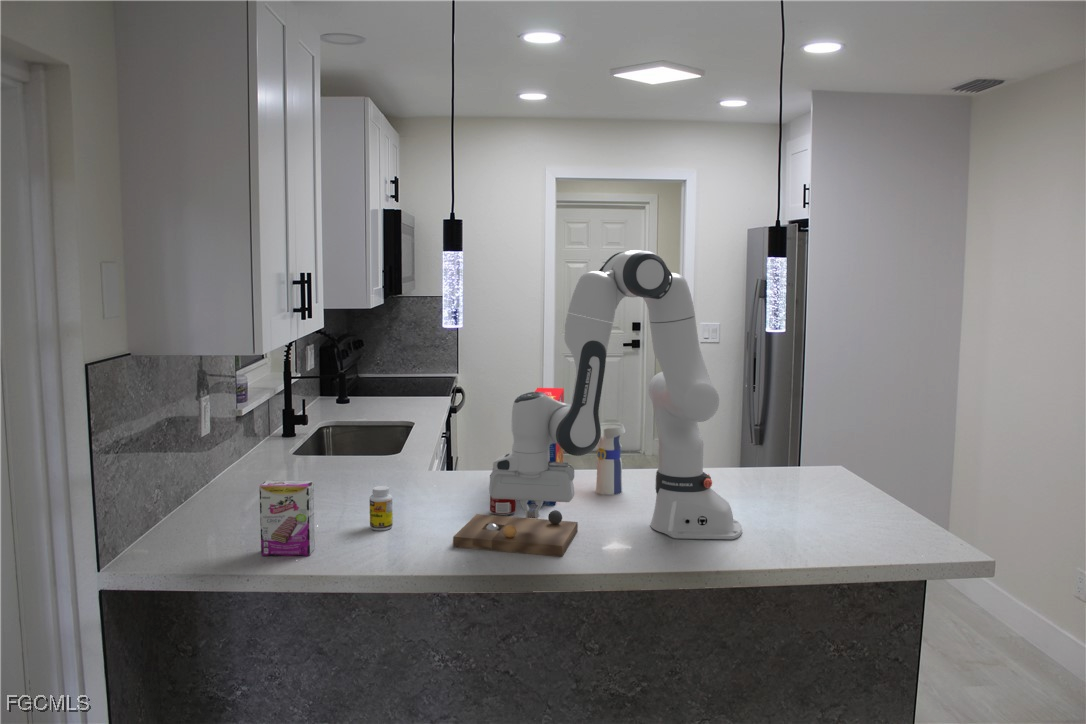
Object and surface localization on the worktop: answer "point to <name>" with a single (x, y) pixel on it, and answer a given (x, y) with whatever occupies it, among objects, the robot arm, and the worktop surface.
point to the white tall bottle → (609, 459)
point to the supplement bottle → (381, 509)
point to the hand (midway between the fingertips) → (532, 517)
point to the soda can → (502, 506)
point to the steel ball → (492, 527)
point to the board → (517, 535)
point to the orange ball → (510, 531)
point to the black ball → (555, 517)
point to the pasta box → (554, 448)
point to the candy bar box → (287, 518)
